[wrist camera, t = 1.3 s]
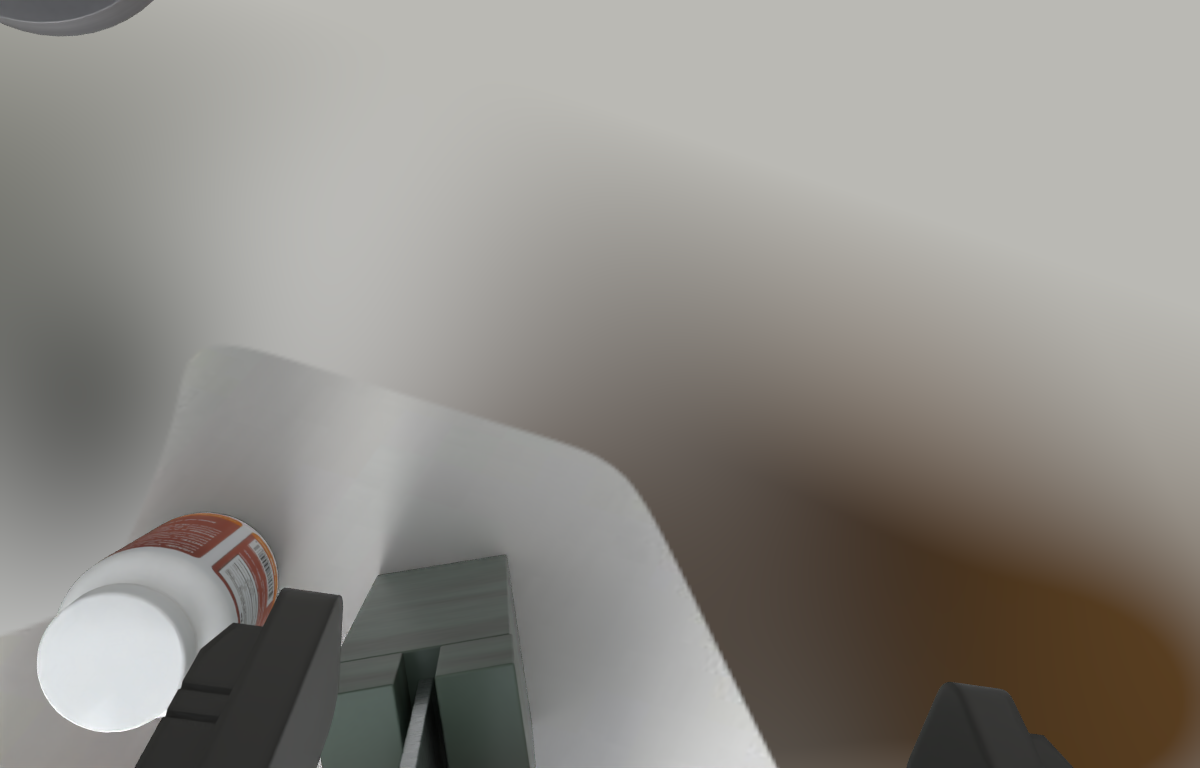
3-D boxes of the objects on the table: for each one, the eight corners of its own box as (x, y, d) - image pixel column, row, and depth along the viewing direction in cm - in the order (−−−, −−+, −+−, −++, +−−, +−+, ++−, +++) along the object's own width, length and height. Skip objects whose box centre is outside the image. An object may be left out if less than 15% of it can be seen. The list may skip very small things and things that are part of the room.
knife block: (375, 575, 43) (310, 698, 28) (508, 553, 44) (514, 662, 29) (402, 749, 44) (352, 959, 29) (534, 725, 44) (552, 919, 29)
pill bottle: (106, 595, 42) (-33, 686, 31) (193, 481, 42) (85, 531, 31) (226, 676, 43) (132, 793, 32) (311, 563, 43) (246, 641, 32)
